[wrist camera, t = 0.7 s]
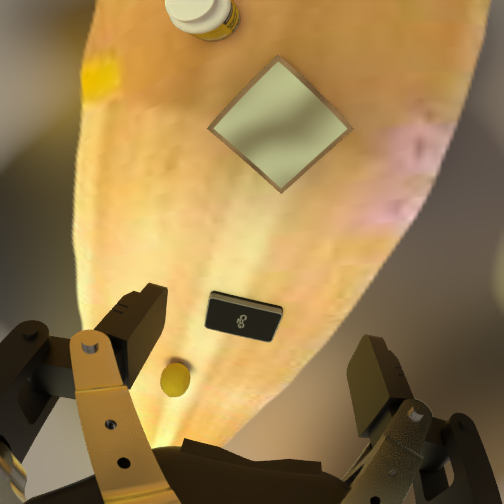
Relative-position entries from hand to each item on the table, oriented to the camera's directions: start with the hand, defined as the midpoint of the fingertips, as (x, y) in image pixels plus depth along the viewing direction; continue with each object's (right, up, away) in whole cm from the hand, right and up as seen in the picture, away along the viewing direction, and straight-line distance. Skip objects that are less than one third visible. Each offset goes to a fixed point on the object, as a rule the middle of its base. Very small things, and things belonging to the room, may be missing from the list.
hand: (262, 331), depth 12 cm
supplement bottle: (-4, +27, +13) cm, 31 cm away
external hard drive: (-2, -6, +35) cm, 36 cm away
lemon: (-14, -19, +44) cm, 50 cm away
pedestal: (+3, +17, +19) cm, 25 cm away
